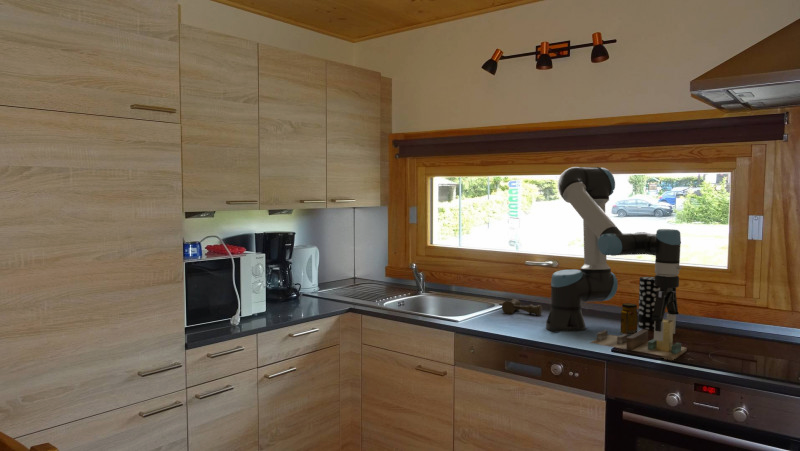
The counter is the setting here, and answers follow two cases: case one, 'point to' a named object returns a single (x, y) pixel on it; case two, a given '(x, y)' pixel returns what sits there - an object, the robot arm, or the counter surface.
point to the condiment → (629, 318)
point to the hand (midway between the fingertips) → (664, 336)
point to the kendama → (520, 307)
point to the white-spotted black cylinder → (647, 302)
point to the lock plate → (641, 348)
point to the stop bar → (666, 337)
